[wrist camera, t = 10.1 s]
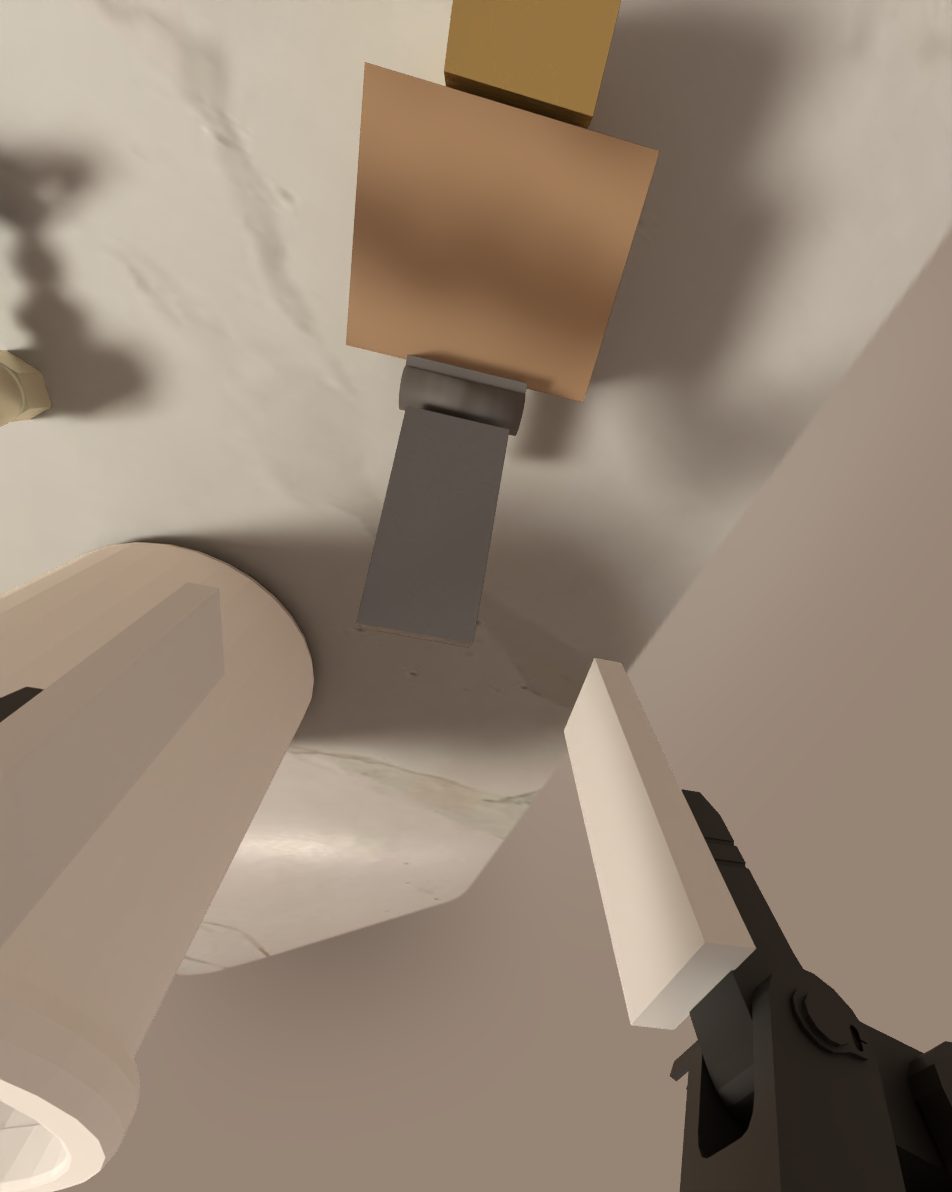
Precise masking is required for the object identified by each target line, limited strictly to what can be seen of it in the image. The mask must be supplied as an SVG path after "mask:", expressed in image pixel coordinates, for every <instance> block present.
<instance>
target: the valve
mask: <svg viewBox="0 0 952 1192" xmlns="http://www.w3.org/2000/svg"><path fill="white" fill-rule="evenodd" d="M50 407H51V402H50V398H49V395H48V392H47V389H46V385H45V382H44V379H43V375H42V373H41V372H40V371H39V370H37V369H35V368H34V367H32V366H31V365H29V364H27V363H26V362H24V361H23V360H21V359H19V358H18V357H16V356H15V355H13V354H11V353H10V352H8V351H5V350H0V427H1V426H3V425H6V424H8V423H9V422H14V421H22V420H29V419H31V418H33V417H35V416H37V415H38V414H40V413H42V412H44V411H45V410H47V409H49V408H50Z"/></svg>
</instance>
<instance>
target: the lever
mask: <svg viewBox="0 0 952 1192" xmlns="http://www.w3.org/2000/svg"><path fill="white" fill-rule="evenodd" d="M508 435H509V429H505V428H501V427H496V426H492V425H488V424H483V423H479V422H475V421H470V420H466V419H462V418H457V417H453V416H449V415H445V414H440V413H436V412H432V411H427V410H423V409H419V408H414V407H410V406H406V410H405V415H404V419H403V423H402V428H401V432H400V436H399V441H398V445H397V449H396V454H395V458H394V462H393V467H392V471H391V475H390V480H389V484H388V488H387V493H386V497H385V501H384V506H383V510H382V514H381V519H380V523H379V528H378V532H377V536H376V541H375V545H374V549H373V554H372V558H371V562H370V567H369V571H368V575H367V580H366V584H365V588H364V593H363V597H362V601H361V606H360V610H359V614H358V619H357V624H358V625H359V626H360V627H361V628H365V629H370V630H376V631H381V632H387V633H392V634H398V635H403V636H409V637H414V638H420V639H425V640H431V641H436V642H441V643H447V644H452V645H458V646H463V647H469V646H471V645H472V644H473V640H474V634H475V628H476V623H477V617H478V611H479V605H480V599H481V593H482V587H483V582H484V576H485V570H486V564H487V558H488V552H489V546H490V540H491V535H492V529H493V523H494V517H495V511H496V505H497V499H498V494H499V488H500V482H501V476H502V470H503V464H504V458H505V452H506V447H507V441H508Z"/></svg>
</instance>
